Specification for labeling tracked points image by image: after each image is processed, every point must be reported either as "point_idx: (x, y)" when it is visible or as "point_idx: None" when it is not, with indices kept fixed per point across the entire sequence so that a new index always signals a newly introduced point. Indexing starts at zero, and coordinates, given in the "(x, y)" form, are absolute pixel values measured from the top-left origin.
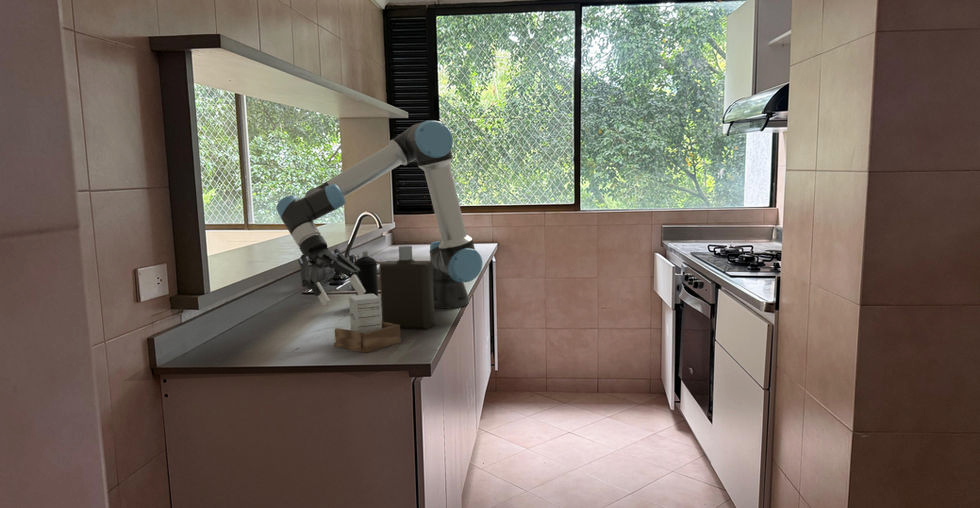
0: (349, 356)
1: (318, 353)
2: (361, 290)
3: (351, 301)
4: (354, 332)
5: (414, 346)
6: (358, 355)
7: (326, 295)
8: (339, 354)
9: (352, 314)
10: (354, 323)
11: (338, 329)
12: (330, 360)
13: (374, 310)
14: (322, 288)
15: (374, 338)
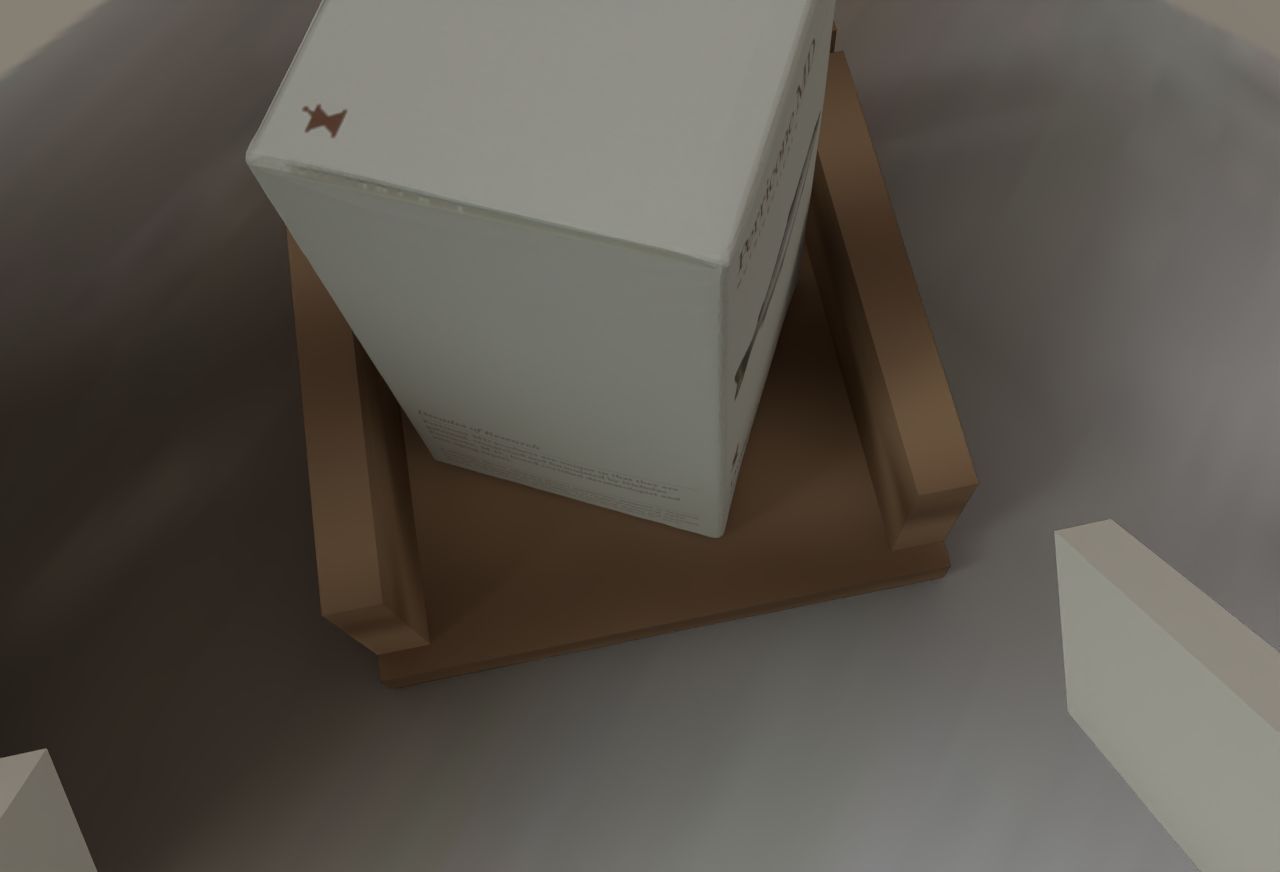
0: (986, 131)
1: (1208, 431)
2: (34, 842)
3: (796, 108)
4: (866, 145)
5: None
6: (903, 105)
7: (1143, 586)
8: (1036, 250)
9: (790, 215)
10: (803, 203)
11: (953, 411)
12: (1192, 136)
13: None
14: (1266, 700)
15: None
